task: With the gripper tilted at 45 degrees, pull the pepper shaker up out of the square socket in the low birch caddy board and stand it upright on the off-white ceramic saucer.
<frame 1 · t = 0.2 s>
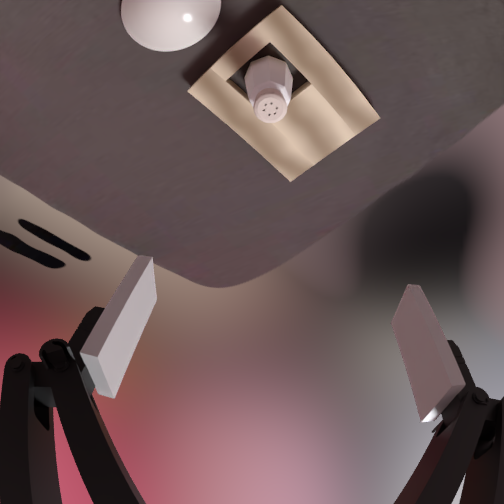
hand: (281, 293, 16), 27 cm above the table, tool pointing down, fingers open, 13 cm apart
saucer: (170, 5, 26), on the table
pepper shaker: (268, 76, 32), resting in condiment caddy
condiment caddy: (286, 94, 34), on the table
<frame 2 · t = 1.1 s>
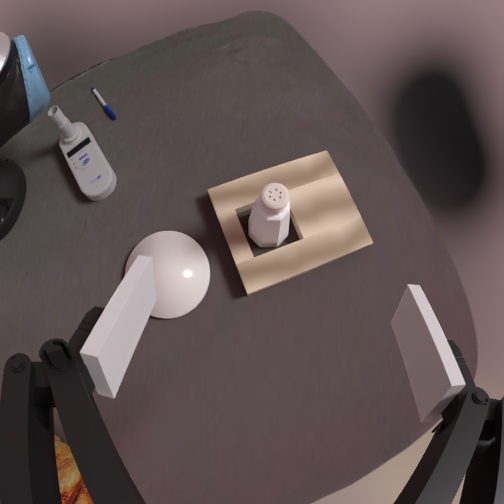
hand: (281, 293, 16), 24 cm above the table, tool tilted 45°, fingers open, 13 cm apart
saucer: (167, 274, 40), on the table
croissant: (74, 469, 33), on the table
pepper shaker: (267, 228, 42), resting in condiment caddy
electronic device: (89, 163, 44), on the table
ballpoint pen: (104, 104, 46), on the table
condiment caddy: (289, 220, 42), on the table
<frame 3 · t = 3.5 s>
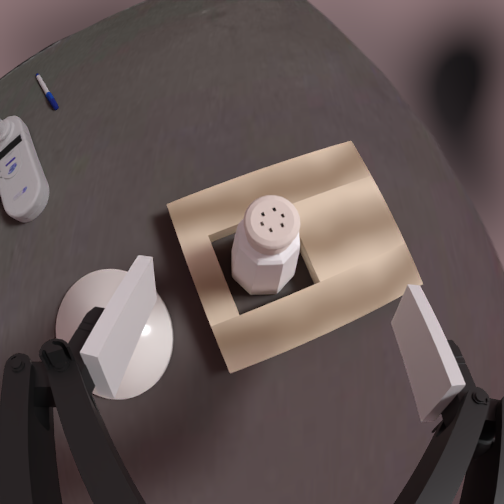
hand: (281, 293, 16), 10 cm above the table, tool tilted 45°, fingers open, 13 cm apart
saucer: (112, 334, 25), on the table
pepper shaker: (262, 264, 27), resting in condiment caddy
electronic device: (22, 170, 29), on the table
ballpoint pen: (47, 92, 32), on the table
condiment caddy: (296, 250, 27), on the table
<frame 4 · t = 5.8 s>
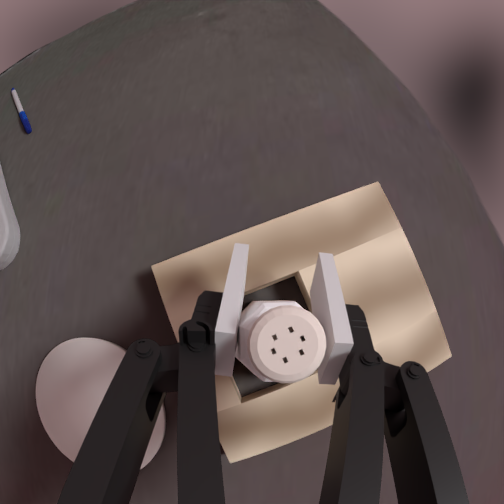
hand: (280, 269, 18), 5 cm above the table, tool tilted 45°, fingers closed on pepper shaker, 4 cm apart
saucer: (97, 408, 20), on the table
pepper shaker: (268, 337, 22), resting in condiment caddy, touching gripper
ballpoint pen: (22, 111, 27), on the table
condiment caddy: (308, 320, 22), on the table
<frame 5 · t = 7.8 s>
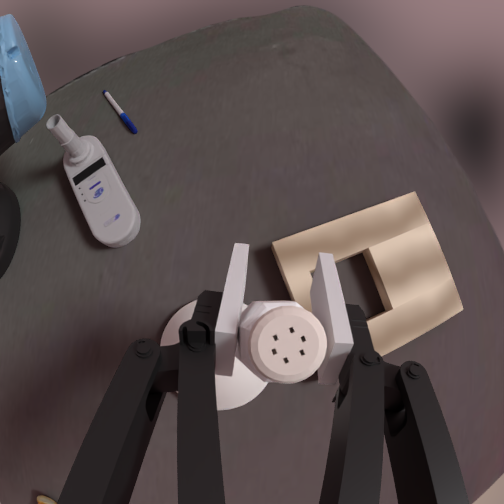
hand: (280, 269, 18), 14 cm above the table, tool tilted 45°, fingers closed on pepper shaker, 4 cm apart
saucer: (217, 353, 30), on the table
pepper shaker: (268, 337, 22), point 9 cm above the table, touching gripper
electronic device: (103, 193, 34), on the table
ballpoint pen: (119, 112, 37), on the table
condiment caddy: (372, 282, 31), on the table
when the fingers open (7 cm above the table, at t = 10.2 s): pepper shaker drops 1 cm, resting on saucer.
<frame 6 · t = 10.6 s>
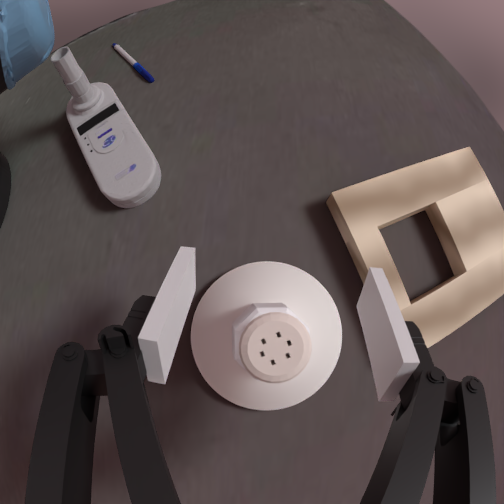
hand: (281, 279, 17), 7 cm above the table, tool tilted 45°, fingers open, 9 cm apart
saucer: (266, 336, 23), on the table
pepper shaker: (267, 337, 23), point 1 cm above the table, touching saucer
electronic device: (114, 146, 28), on the table
ballpoint pen: (132, 64, 30), on the table
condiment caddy: (438, 243, 25), on the table
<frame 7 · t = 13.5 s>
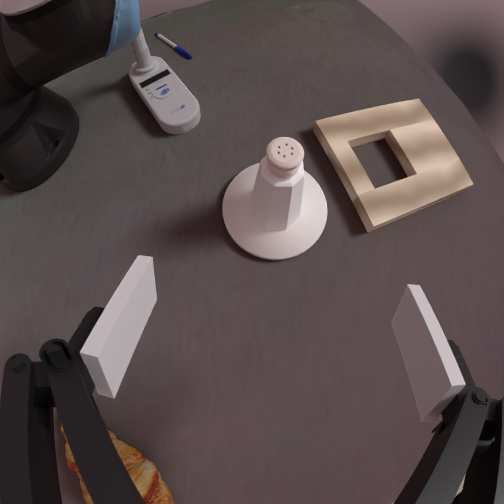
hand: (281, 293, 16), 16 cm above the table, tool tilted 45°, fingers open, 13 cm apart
saucer: (274, 209, 34), on the table
croissant: (129, 475, 27), on the table
pepper shaker: (275, 208, 34), point 1 cm above the table, touching saucer
electronic device: (164, 99, 39), on the table
ballpoint pen: (172, 47, 42), on the table
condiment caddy: (396, 159, 36), on the table
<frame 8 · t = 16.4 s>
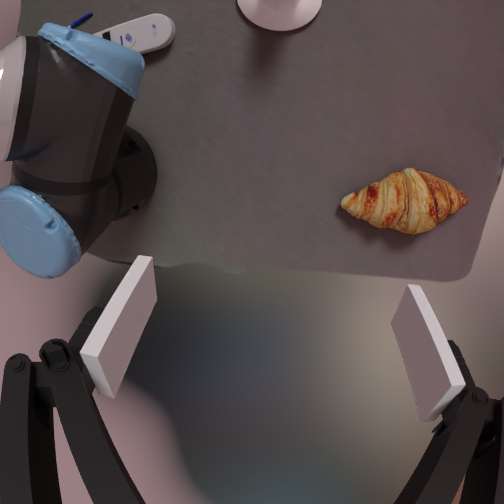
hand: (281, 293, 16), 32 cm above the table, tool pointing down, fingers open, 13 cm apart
croissant: (403, 193, 45), on the table
electronic device: (127, 42, 36), on the table
ballpoint pen: (67, 30, 34), on the table
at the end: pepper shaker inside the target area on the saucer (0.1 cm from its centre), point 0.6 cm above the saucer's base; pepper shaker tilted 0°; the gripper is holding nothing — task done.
